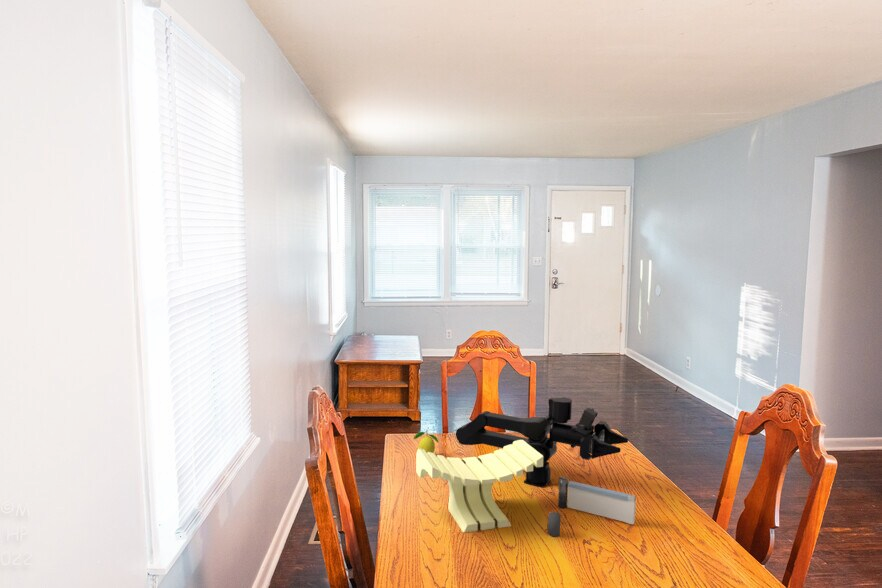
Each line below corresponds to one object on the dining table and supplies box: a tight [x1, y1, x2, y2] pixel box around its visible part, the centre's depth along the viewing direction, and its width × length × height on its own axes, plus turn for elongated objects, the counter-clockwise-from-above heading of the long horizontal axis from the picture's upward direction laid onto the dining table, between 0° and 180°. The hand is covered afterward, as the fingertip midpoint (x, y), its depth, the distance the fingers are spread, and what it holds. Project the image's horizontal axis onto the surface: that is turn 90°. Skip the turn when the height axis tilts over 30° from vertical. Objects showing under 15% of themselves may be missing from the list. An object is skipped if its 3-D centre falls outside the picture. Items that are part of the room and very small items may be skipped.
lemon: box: [413, 430, 439, 454], centre depth 192 cm, size 7×6×10 cm
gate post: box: [557, 476, 569, 510], centre depth 157 cm, size 2×2×8 cm
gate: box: [567, 480, 637, 525], centre depth 152 cm, size 18×2×7 cm, turn 59°
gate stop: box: [547, 511, 562, 538], centre depth 142 cm, size 3×3×5 cm
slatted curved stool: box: [415, 440, 543, 533], centre depth 151 cm, size 30×16×18 cm, turn 107°
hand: (624, 445), depth 160 cm, fingers open, 9 cm apart
